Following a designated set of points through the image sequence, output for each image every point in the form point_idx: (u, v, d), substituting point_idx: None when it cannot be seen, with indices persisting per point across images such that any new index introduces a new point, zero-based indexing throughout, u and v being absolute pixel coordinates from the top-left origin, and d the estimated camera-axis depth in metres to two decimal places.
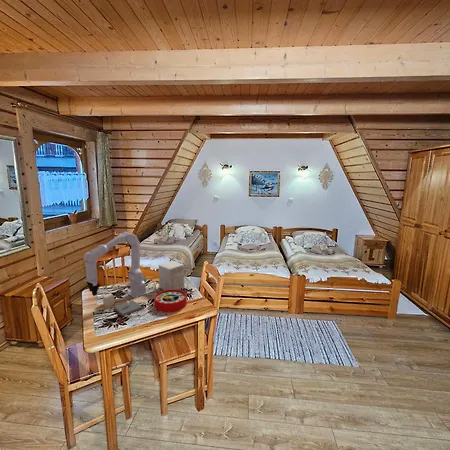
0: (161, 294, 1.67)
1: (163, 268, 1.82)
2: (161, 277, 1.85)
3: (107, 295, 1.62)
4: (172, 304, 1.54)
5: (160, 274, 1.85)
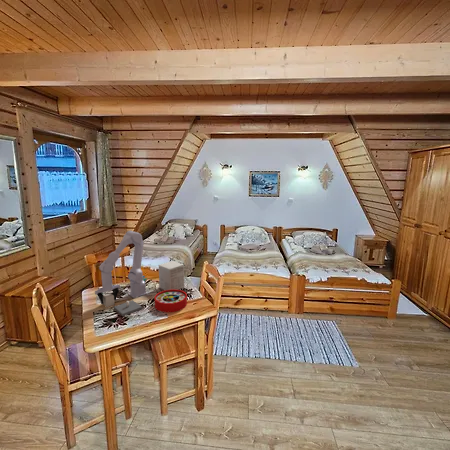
0: (161, 294, 1.67)
1: (163, 268, 1.82)
2: (161, 277, 1.85)
3: (107, 295, 1.62)
4: (172, 304, 1.54)
5: (160, 274, 1.85)
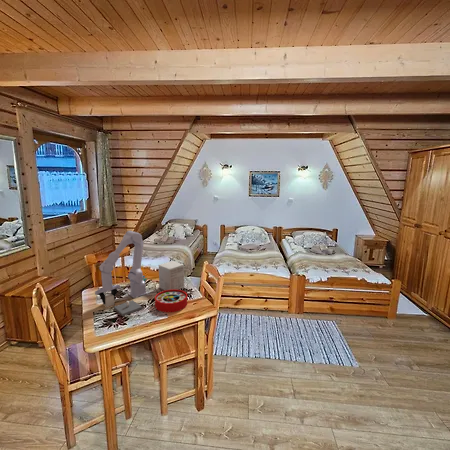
0: (162, 294, 1.67)
1: (163, 268, 1.82)
2: (161, 277, 1.85)
3: (107, 295, 1.62)
4: (172, 304, 1.54)
5: (160, 274, 1.85)
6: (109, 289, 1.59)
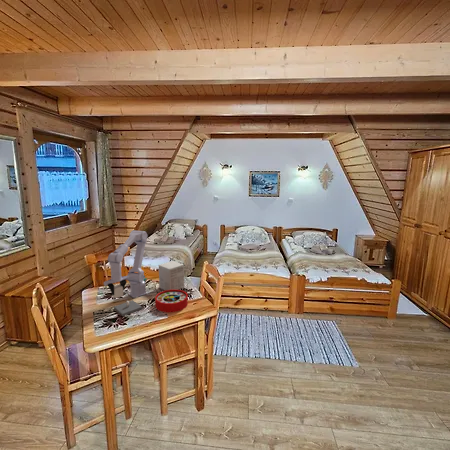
0: (162, 294, 1.67)
1: (163, 268, 1.82)
2: (161, 277, 1.85)
3: (116, 286, 1.58)
4: (173, 304, 1.54)
5: (160, 274, 1.85)
6: (118, 280, 1.55)
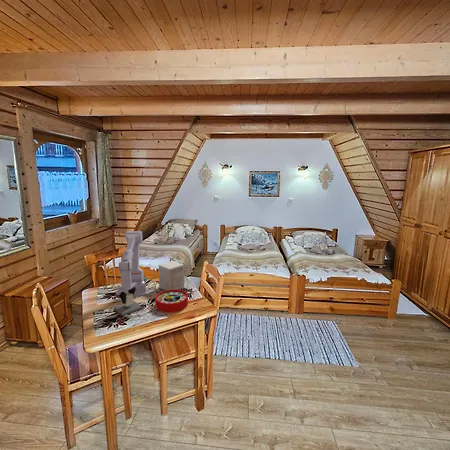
0: (162, 294, 1.67)
1: (163, 268, 1.82)
2: (161, 277, 1.85)
3: None
4: (173, 304, 1.54)
5: (160, 274, 1.85)
6: (130, 287, 1.54)
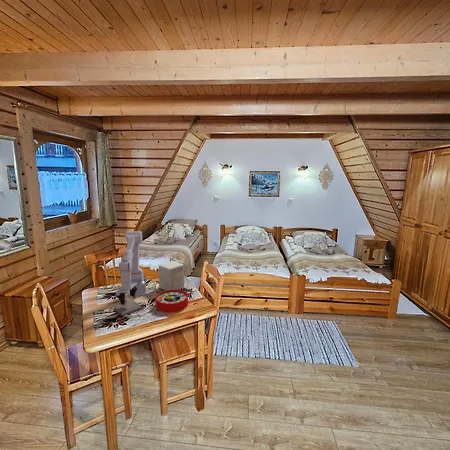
0: (163, 294, 1.67)
1: (163, 268, 1.82)
2: (161, 277, 1.85)
3: (126, 297, 1.56)
4: (173, 304, 1.53)
5: (160, 274, 1.85)
6: (130, 288, 1.54)
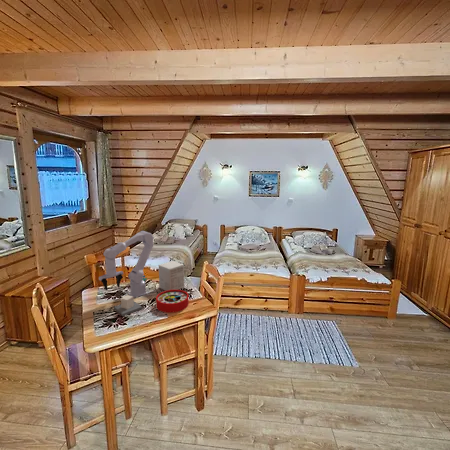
0: (163, 294, 1.67)
1: (163, 268, 1.82)
2: (161, 277, 1.85)
3: (126, 297, 1.56)
4: (174, 304, 1.53)
5: (160, 274, 1.85)
6: (113, 275, 1.61)
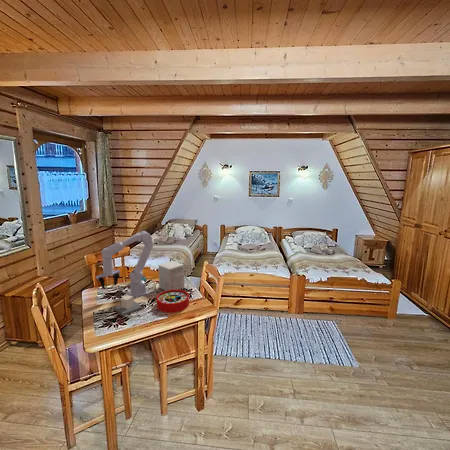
0: (163, 294, 1.67)
1: (163, 268, 1.82)
2: (161, 277, 1.85)
3: (126, 297, 1.56)
4: (174, 304, 1.53)
5: (160, 274, 1.85)
6: (110, 274, 1.63)
